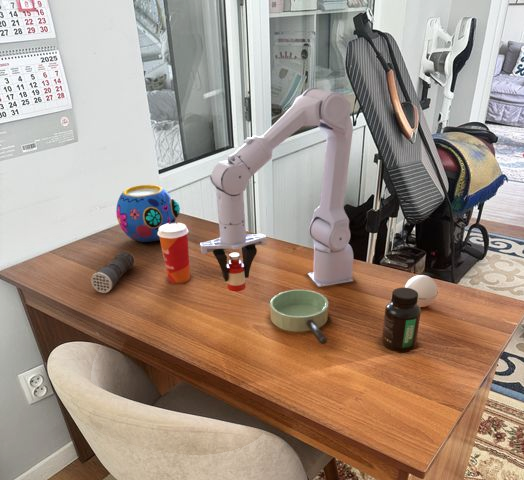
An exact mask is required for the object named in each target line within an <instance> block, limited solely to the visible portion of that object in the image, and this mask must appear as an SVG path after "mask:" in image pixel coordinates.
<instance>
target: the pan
mask: <svg viewBox="0 0 524 480" xmlns="http://www.w3.org/2000/svg"><path fill="white" fill-rule="evenodd" d="M329 305H330V304H329V300H328V298H326V296H325V295H323V294H322V293H319V292H317V291H314V290H310V289H290V290H285V291H282V292H279V293H278V294H275V295H274V296H272V298H271V300H270V302H269V306H270V307H269V308H270V309H269V311H270V321H271V322H272V324H274V326H276V327H277V328H279V329H281V330H284V331H288V332H295V333H296V332H297V333H301V332H311V330H310V329H309V327H308V326H307V321H308V320H313V321H314V323H315V324H316V325H317V327H318V328H319V329H320V328H321V327H323V326H324V325H325V324H326V323H327V321H328V318H329Z"/></svg>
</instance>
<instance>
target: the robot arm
mask: <svg viewBox="0 0 524 480" xmlns="http://www.w3.org/2000/svg"><path fill="white" fill-rule="evenodd" d="M350 112H351V102H350V101H349V100H348V99H347V97H346V96H345V95H344V94H343V93H342V92H339V91H331V90H330V91H329V90H326V89H325V90H324V89H319V88H317V87H310V88H309V87H308V88H307V89H306V90H305V91H304V92H303V93H302V94H301V95H299V96H296V98H295V100H294V101H293V104H292V105H291V106H290V107H289V109H287V111H285V112H284V113H283V114H282V115H281V117H280V118H278V119H277V121H276V122H275V123H274V124H272V126H270V128H268V129H267V131H265V133H264V134H263V135H261V136H260V135H253V136H252V137H248V136H247V137H246V138H245V139H244V141H243V142H244V144H243V145H242V146H241V147H239V148H238V149H237V150H236V151H235V152H233V153H232V154H229V155H227V157H226V158H227V160H221V161H219V162H217V163H216V164H215V166H214V167H213V170H212V172H211V175H210V176H209V180H210V182H211V184H212V186H213V187H214V188H215V192H216V206H217V208H216V209H217V217H218V228H219V229H218V230H219V237H217V238H215V239H211V240H207V241H204V242H200V243H199V246H200V252H201V254H202V255H207V254H208V253H213V255H214V257H215V259H216V260H217V263H218V264H219V267H220V270H221V273H222V277H223V280H224V281H225V282H227V281H228V272H227V264H228V256H227V254H226V251H225V250H234V251H236V250H241V257H242V263H243V264H244V269H245V279H249V276H250V270H251V267H252V264H253V261H254V259H255V257H256V255H257V253H258V250H257V248H256V246H260V245H261V246H266V245H267V236H266V235H265V234H264V233H257V234H247V227H246V211H245V195H244V194H245V193H244V192H245V191H246V189H247V188H248V185H249V181H250V179H251V178H252V177H253V176H254V175H255V174H256V173H257V172H258V171H259V170H261V169H262V168H263V167H264V166H265V165H266V164H267V163H269V162H270V161H271V160H272V157H273V150H274V149H275V148H276V147H278V146H279V145H281V144H282V143H283V142H285V141H286V140H287V139H288V138H290V137H291V136H292V135H293V134H294V133H296V132H297V131H298V130H300V129H301V128H302V127H314V126H317V127H318V128H319V129H320V130H321V131H322V133H323V134H325V136H326V143H325V152H324V162H323V171H322V181H321V182H322V183H321V190H320V191H321V192H320V203H319V206H318V207H317V208H315V210H314V211H313V215H312V219H311V221H310V223H309V226H308V234H309V236H310V238H311V239H313V241H312V242H313V243H312V244H313V272H308V273H307V275H308V276H309V278H310V279H311V280H312V281H313V283H315V285H316V286H317V287H319V288H320V287H326V286H327V287H328V286H332V285H333V286H334V285H338V284H344V283H345V284H346V283H351V282H354V279H353V271H354V259H355V258H354V251H353V248H352V246H351V244H349V243H350V240H351V230H350V219H349V217H348V214H347V213H346V211H345V209H344V206H345V196H346V189H347V181H348V172H349V166H350V165H349V164H350V158H351V157H350V155H351V149H352V140H353V133H354V132H353V131H354V126H353V122H352V118H351V113H350Z"/></svg>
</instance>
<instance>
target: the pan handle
mask: <svg viewBox="0 0 524 480" xmlns="http://www.w3.org/2000/svg"><path fill="white" fill-rule="evenodd" d="M307 326H308V327H309V329H310V330H311V331H310V332H311V333H312V334H313V336H314V337H315V339H316V340H317V341H318V343H319V344H320V345H326V344H327V343H328V339H327V337H326V336H325V335H324V333H323V332H322V331H321V330H320V327H319V328H318V327H317V325H316V324H315V323H314V321H313V320H308V321H307Z"/></svg>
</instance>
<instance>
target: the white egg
mask: <svg viewBox="0 0 524 480" xmlns="http://www.w3.org/2000/svg"><path fill="white" fill-rule="evenodd" d="M404 287H405V288H410V289H414V290H415V291H417V293H418V302H417V304H418V305H419V307H420V308H425V307H428V306H429V305H431V304H433V302H434V301H435V300H436V299H437V297H438V293H439V291H438V285H437V283H436V281H435V280H434V279H433V278H432V277H430V276H429V275H425V274H417V275H414V276H412V277H410V278H409V279H408V281H407V282H406V283H405V284H404ZM439 297H441V298H444V296H442V295H439ZM445 298H446V299H448V298H449V297H447V296H445Z"/></svg>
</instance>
